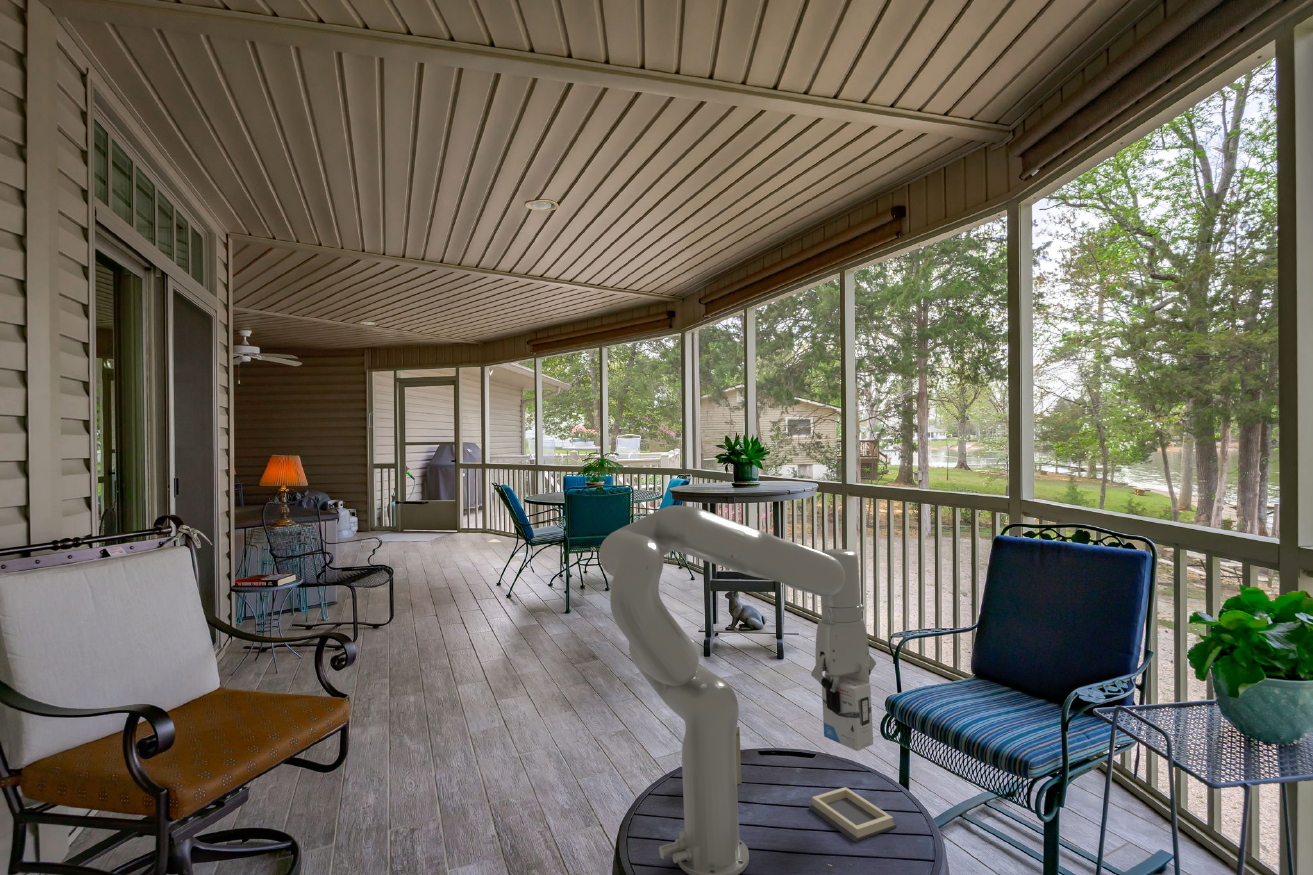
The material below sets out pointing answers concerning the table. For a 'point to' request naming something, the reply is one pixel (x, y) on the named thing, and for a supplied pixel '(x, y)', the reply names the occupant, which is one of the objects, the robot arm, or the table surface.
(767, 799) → the table surface
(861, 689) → the ink box
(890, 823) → the cream picture frame
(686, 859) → the robot arm
